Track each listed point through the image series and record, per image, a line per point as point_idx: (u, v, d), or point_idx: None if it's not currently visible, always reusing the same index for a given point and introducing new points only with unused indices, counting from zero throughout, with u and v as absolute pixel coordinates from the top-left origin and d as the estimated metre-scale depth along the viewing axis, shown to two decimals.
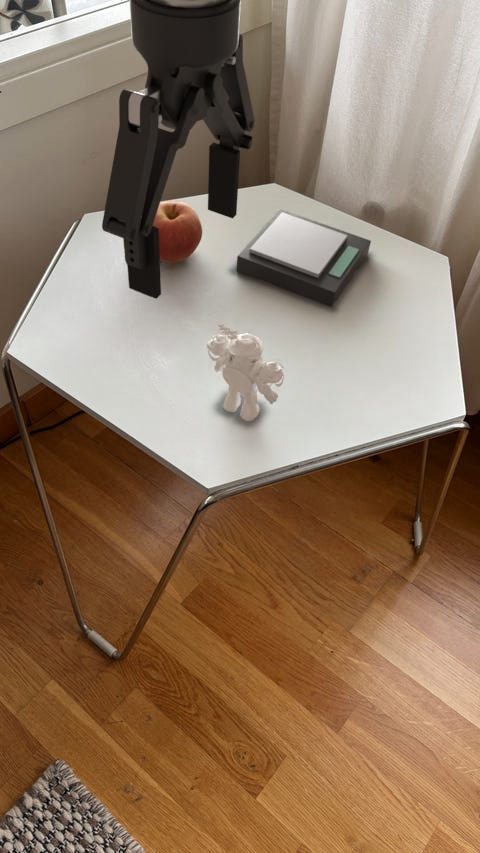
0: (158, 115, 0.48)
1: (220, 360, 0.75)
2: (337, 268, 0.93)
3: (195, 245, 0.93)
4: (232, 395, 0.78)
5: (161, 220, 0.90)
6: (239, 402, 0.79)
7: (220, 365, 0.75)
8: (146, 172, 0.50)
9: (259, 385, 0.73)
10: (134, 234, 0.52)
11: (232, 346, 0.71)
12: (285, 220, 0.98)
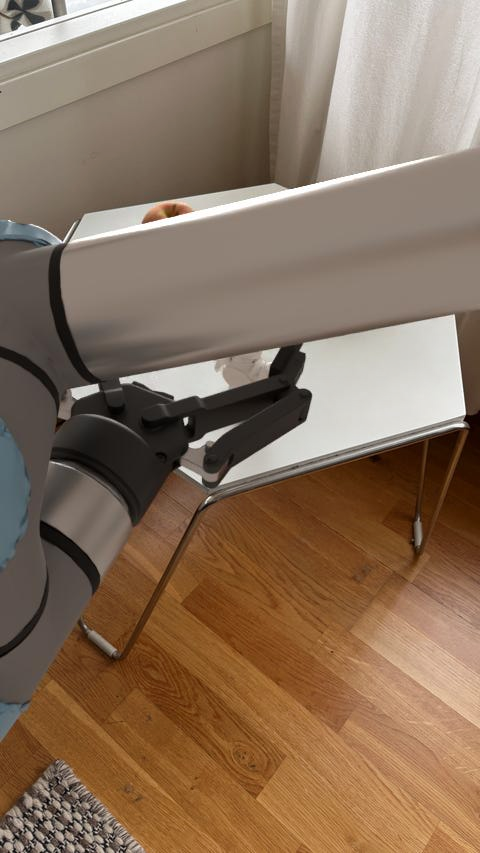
0: (210, 448, 0.45)
1: (220, 360, 0.75)
2: None
3: None
4: None
5: None
6: None
7: (220, 365, 0.75)
8: (256, 422, 0.47)
9: None
10: (306, 394, 0.49)
11: None
12: None
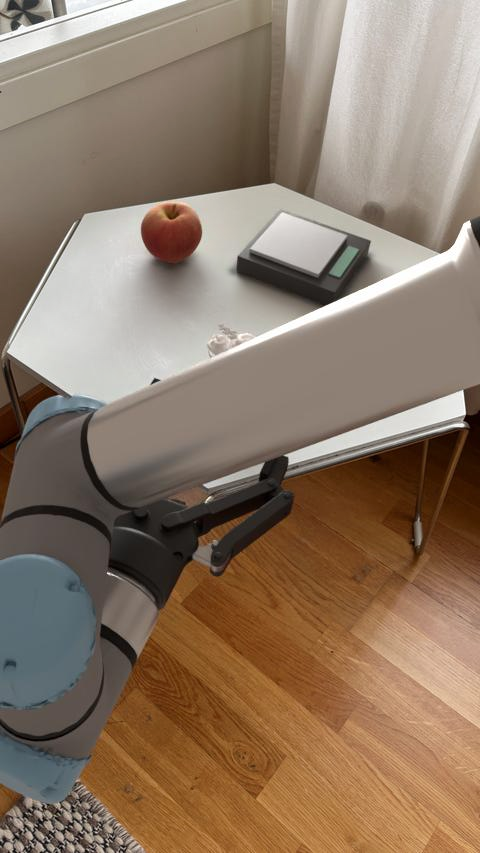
0: (215, 546, 0.59)
1: None
2: (337, 268, 0.93)
3: (195, 245, 0.93)
4: None
5: (161, 220, 0.90)
6: None
7: None
8: (250, 522, 0.60)
9: None
10: (289, 496, 0.62)
11: (232, 346, 0.71)
12: (285, 220, 0.98)
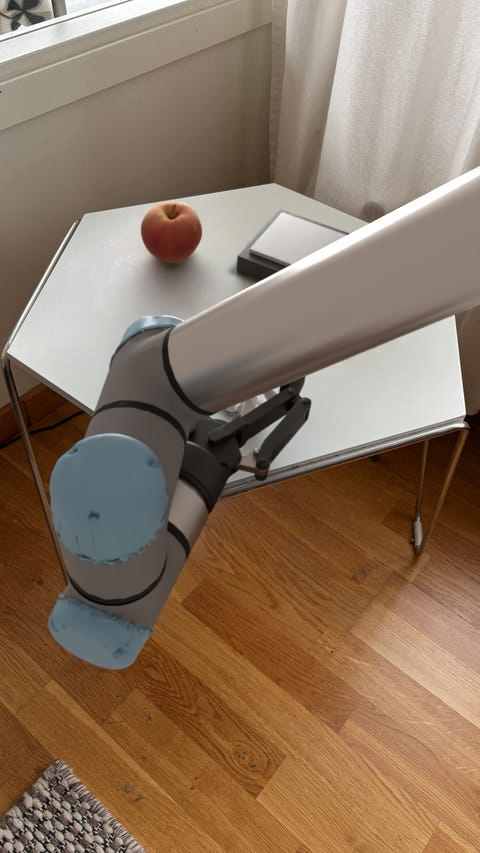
0: (258, 453, 0.65)
1: None
2: None
3: (195, 245, 0.93)
4: None
5: (161, 220, 0.90)
6: None
7: None
8: (281, 428, 0.67)
9: None
10: (307, 401, 0.69)
11: None
12: (285, 220, 0.98)
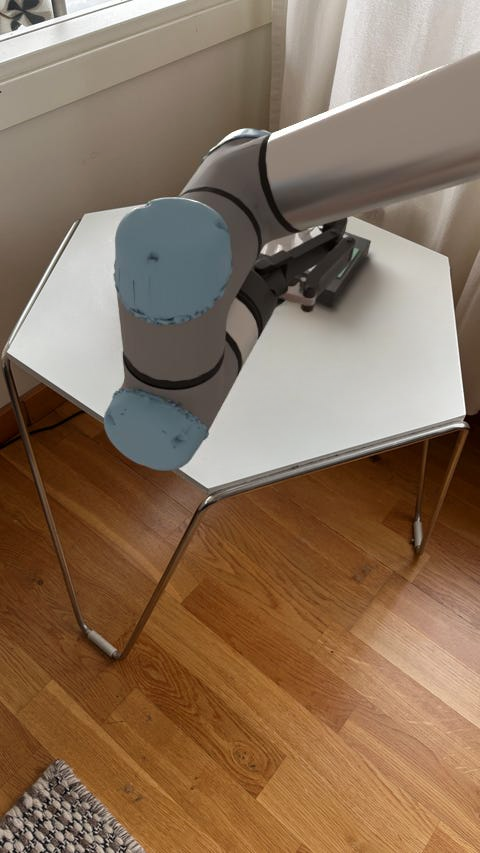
0: (305, 282, 0.64)
1: None
2: None
3: None
4: (271, 251, 0.77)
5: None
6: None
7: None
8: (327, 262, 0.66)
9: None
10: (351, 239, 0.69)
11: None
12: None
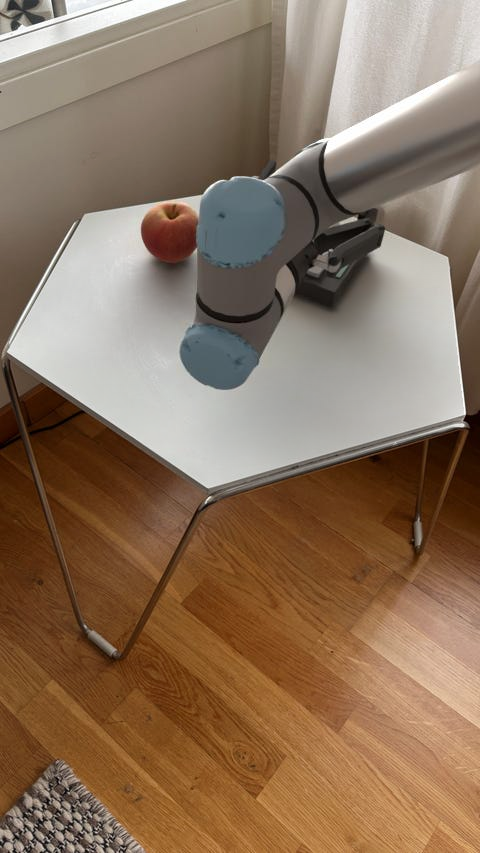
0: (331, 252, 0.80)
1: None
2: None
3: (195, 245, 0.93)
4: None
5: (161, 220, 0.90)
6: None
7: None
8: (355, 240, 0.82)
9: None
10: (381, 227, 0.83)
11: None
12: None
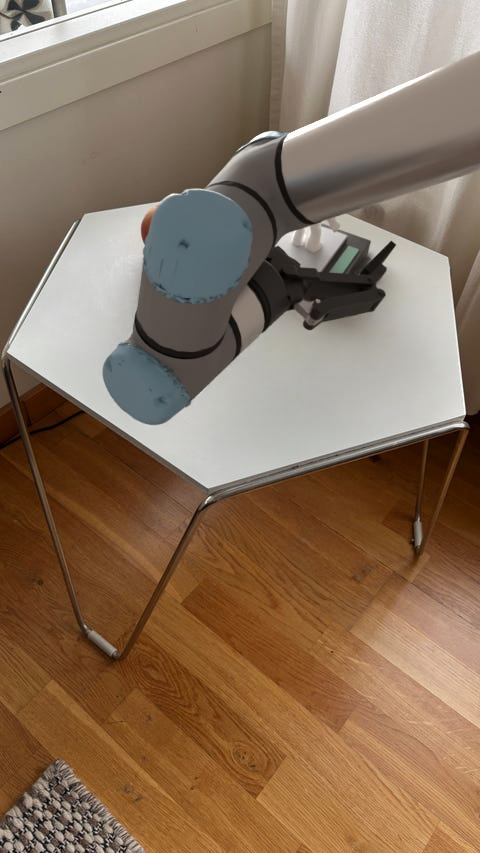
0: (317, 303, 0.70)
1: None
2: (337, 268, 0.93)
3: None
4: (300, 229, 0.93)
5: None
6: (304, 238, 0.95)
7: None
8: (348, 299, 0.72)
9: None
10: (382, 293, 0.74)
11: None
12: None
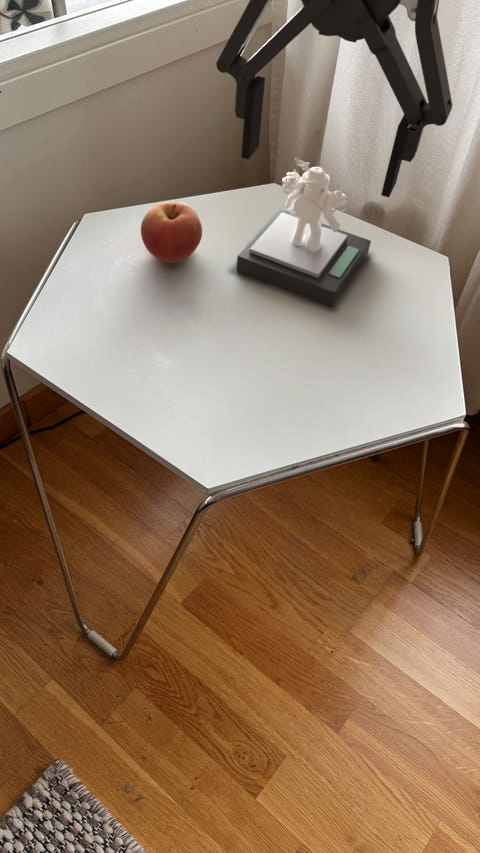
0: None
1: (292, 194, 0.90)
2: (337, 268, 0.93)
3: (195, 245, 0.93)
4: (300, 229, 0.93)
5: (161, 220, 0.90)
6: (304, 238, 0.95)
7: (292, 200, 0.91)
8: (247, 22, 0.58)
9: (326, 212, 0.88)
10: (220, 65, 0.61)
11: (305, 177, 0.87)
12: (285, 220, 0.98)
